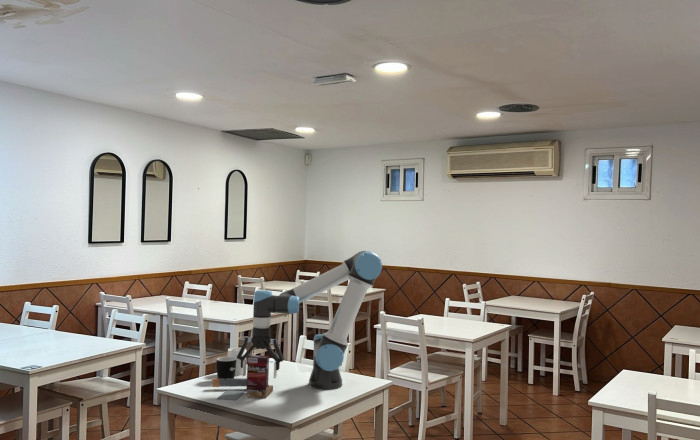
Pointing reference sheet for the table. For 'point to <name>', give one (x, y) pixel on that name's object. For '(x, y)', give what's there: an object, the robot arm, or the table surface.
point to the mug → (226, 367)
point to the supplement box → (257, 373)
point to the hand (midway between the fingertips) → (259, 376)
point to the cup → (233, 353)
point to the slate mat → (231, 395)
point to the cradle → (259, 394)
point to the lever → (229, 382)
